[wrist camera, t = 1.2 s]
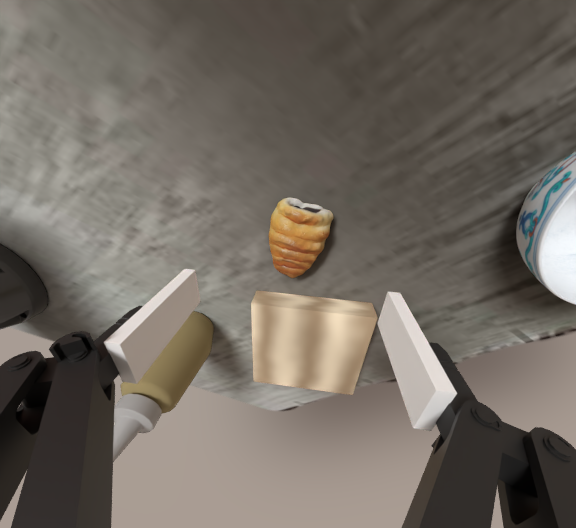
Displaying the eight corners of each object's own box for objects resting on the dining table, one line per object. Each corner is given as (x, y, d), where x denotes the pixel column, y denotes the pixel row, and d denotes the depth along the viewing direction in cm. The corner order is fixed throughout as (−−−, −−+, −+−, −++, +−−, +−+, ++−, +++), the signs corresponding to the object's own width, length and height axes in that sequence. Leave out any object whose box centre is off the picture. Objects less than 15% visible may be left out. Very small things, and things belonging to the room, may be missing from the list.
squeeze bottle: (167, 329, 37) (55, 465, 21) (179, 296, 33) (54, 432, 17) (211, 349, 38) (137, 493, 22) (228, 319, 34) (153, 466, 18)
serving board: (257, 365, 38) (253, 381, 36) (256, 290, 31) (251, 303, 28) (349, 377, 37) (352, 395, 35) (372, 303, 30) (377, 318, 27)
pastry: (313, 275, 29) (312, 292, 26) (264, 263, 29) (257, 278, 26) (335, 206, 25) (338, 216, 21) (277, 192, 25) (270, 199, 21)
